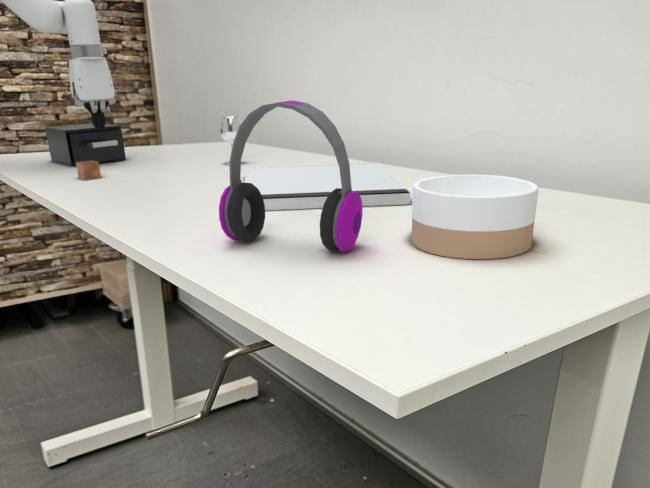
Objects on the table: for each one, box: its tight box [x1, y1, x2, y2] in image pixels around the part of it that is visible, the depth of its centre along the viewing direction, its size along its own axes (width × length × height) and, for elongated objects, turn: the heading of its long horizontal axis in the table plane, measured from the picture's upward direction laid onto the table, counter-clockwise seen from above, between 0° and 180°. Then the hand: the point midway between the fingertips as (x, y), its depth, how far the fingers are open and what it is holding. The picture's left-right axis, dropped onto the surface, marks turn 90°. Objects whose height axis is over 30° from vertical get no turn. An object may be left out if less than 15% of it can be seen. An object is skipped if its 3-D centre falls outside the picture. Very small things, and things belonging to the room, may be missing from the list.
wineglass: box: [219, 115, 243, 166], centre depth 160 cm, size 6×6×12 cm
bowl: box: [411, 174, 539, 260], centre depth 87 cm, size 17×17×8 cm
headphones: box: [218, 99, 364, 253], centre depth 85 cm, size 21×9×20 cm, turn 66°
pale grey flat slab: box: [243, 162, 412, 211], centre depth 127 cm, size 35×2×31 cm
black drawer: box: [68, 128, 127, 164], centre depth 169 cm, size 18×14×8 cm
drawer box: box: [44, 122, 126, 168], centre depth 172 cm, size 15×16×10 cm
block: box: [75, 160, 102, 181], centre depth 146 cm, size 4×4×4 cm
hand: (100, 128), depth 162 cm, fingers closed
